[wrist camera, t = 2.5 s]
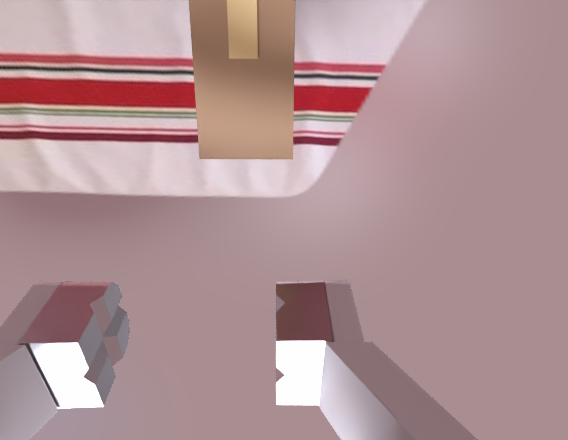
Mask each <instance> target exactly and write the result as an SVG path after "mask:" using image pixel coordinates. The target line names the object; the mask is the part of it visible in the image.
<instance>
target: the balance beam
mask: <svg viewBox="0 0 568 440" xmlns="http://www.w3.org/2000/svg"><path fill="white" fill-rule="evenodd" d="M189 9H190V24H191V39H192V54H193V68H194V83H195V98H196V113H197V127H198V142H199V157H200V159H293V109H294V46H295V0H189Z"/></svg>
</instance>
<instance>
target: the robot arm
mask: <svg viewBox="0 0 568 440" xmlns="http://www.w3.org/2000/svg"><path fill="white" fill-rule="evenodd" d="M121 298H122V294H121V291H120V288H119V285H118V284H116V283H114V282H39V283H37V284H35V285H33V286H32V287H31V289H30V290H29V291H28V292H27V294H26V295H25V296H24V297H23V299H22V300H21V301H20V303H19V304H18V305H17V306H16V308H15V309H14V310H13V312H12V313H11V314H10V315H9V317H8V318H7V319H6V321H5V322H4V323H3V325H2V326H1V327H0V440H29V439H31V437H33V436H34V434H36V433H37V431H39V430H40V429H41V428H42V427H43V426H44V425H45V424H46V423H47V422H48V421H49V420H50V419H51V418H52V417H53V416H54V415H55V414H56V413H57V412H58V411H59V410H58V408H81V407H103V406H104V404H105V402H106V399H107V396H108V394H109V392H110V389H111V387H112V384H113V382H114V379H115V377H116V376H115V373H114V370H113V367H112V366H113V365H114V364H116V363H117V362H118V361H119V360H120V359H122V358H123V356H124V354H125V351H126V348H127V345H128V339H129V333H130V328H129V319H128V315H127V312H126V311H124V310H123V309H122V308H121V307H120V306H118V305H119V303H120V300H121ZM276 393H277V394H276V395H277V396H276V397H277V405H320V406H319V407H320V409H321V410H322V412H323V413H324V415H325V416H326V418H327V419H328V421H329V422H330V424H331V425H332V427H333V428H334V430H335V431H336V433H337V434H338V436H339V437H340V439H341V440H478V439H476V438H475V437H474V436H473V435H472V434H471V433H470V432H469V431H468V430H467V429H466V428H465V427H463V426H462V425H461V424H460V423H459V422H458V421H457V420H456V419H455V418H454V417H453V416H452V415H451V414H450V413H448V412H447V411H446V410H445V409H444V408H443V407H442V406H441V405H440V404H438V402H437V401H435V400H434V399H433V398H432V397H431V396H430V395H429V394H428V393H427V392H426V391H425V390H423V388H421V387H420V386H419V385H418V384H417V383H416V382H415V381H414V380H413V379H412V378H411V377H410V376H408V375H407V374H406V373H405V372H404V371H403V370H402V369H401V368H400V367H399V366H398V365H397V364H396V363H394V362H393V361H392V360H391V359H390V358H389V357H388V356H387V355H386V354H385V353H384V352H383V351H381V350H380V349H379V348H378V347H377V346H376V345H375V344H374V343H373V342H364V338H363V334H362V330H361V326H360V322H359V318H358V314H357V310H356V306H355V302H354V298H353V294H352V289H351V286H350V283H349V282H348V281H347V280H330V281H329V280H327V281H289V282H288V281H282V282H276Z"/></svg>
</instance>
